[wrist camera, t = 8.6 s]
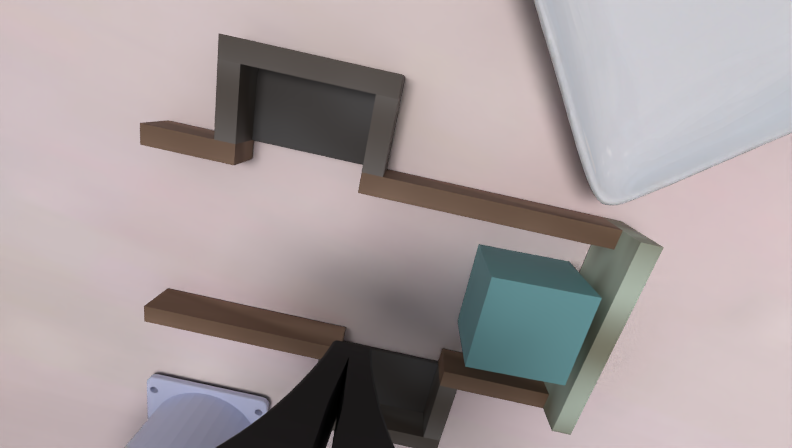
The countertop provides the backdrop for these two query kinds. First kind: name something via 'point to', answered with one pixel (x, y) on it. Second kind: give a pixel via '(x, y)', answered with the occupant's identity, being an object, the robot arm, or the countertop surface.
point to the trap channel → (370, 146)
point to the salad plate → (668, 85)
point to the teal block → (525, 315)
